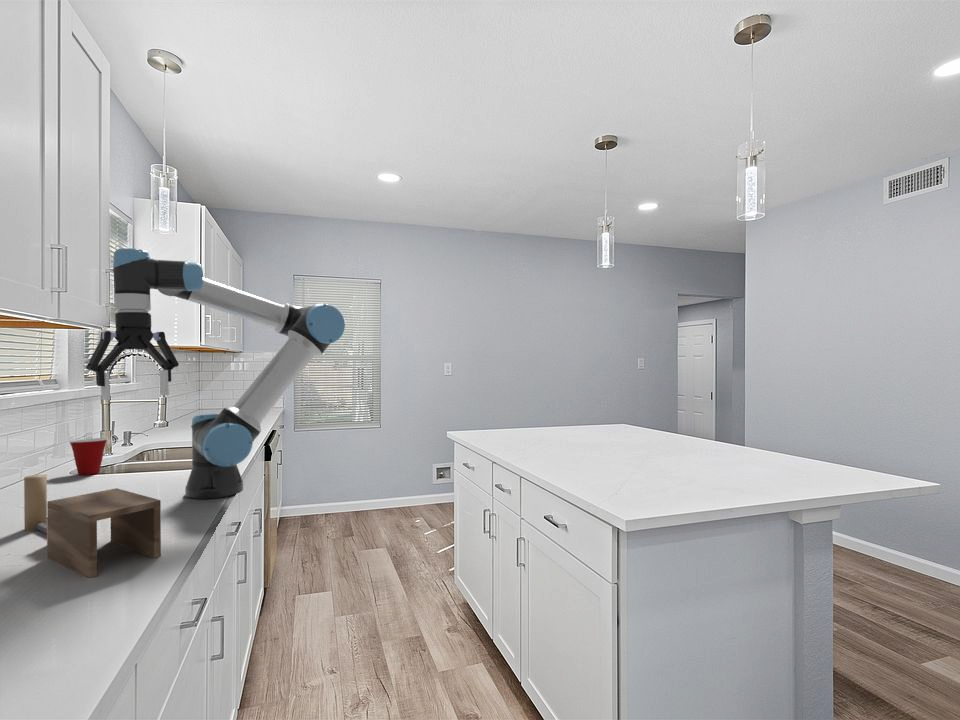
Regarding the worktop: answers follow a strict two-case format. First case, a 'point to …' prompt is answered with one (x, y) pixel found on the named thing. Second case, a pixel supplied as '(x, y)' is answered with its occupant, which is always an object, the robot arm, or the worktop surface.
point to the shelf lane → (78, 526)
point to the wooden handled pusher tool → (35, 503)
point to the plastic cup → (88, 455)
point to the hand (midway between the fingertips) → (136, 397)
